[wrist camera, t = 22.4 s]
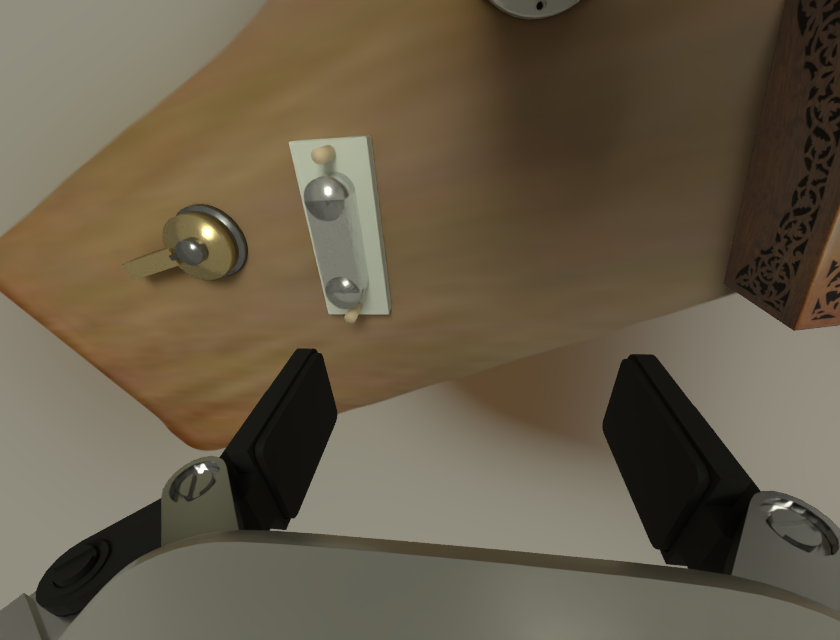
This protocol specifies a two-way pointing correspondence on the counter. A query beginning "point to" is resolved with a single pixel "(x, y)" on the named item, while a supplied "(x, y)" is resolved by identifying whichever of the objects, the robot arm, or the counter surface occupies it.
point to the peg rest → (359, 167)
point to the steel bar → (337, 238)
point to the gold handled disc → (191, 248)
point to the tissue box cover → (795, 178)
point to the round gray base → (232, 227)
